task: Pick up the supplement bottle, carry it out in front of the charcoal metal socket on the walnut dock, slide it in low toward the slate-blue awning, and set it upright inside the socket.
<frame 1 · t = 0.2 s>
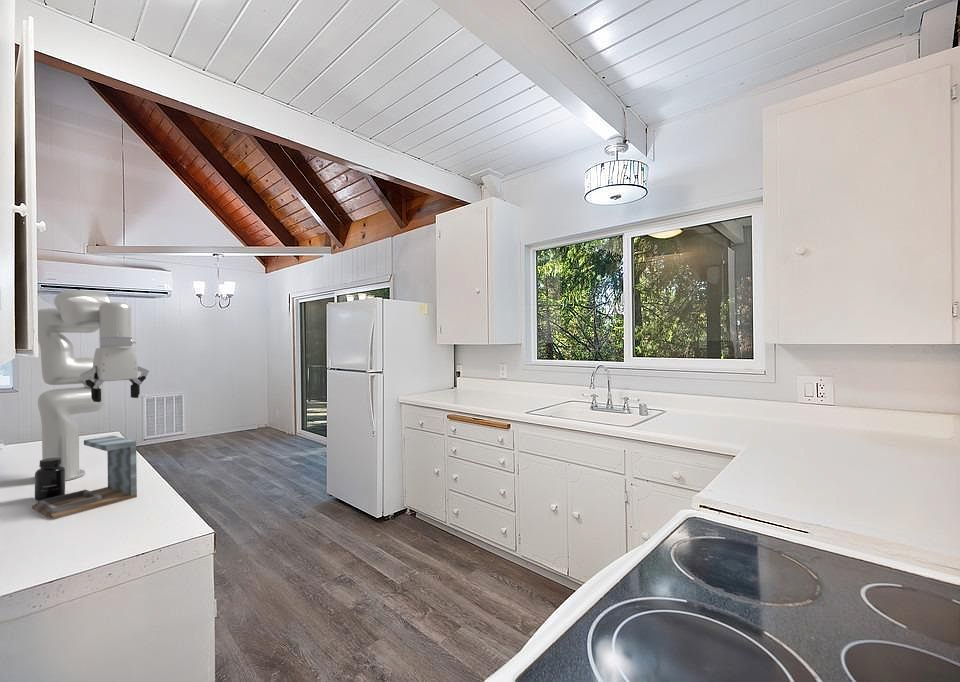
hand: (116, 399, 135), 31 cm above the countertop, tool pointing down, fingers open, 9 cm apart
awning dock: (101, 498, 137), on the countertop
supplement bottle: (50, 498, 138), on the countertop
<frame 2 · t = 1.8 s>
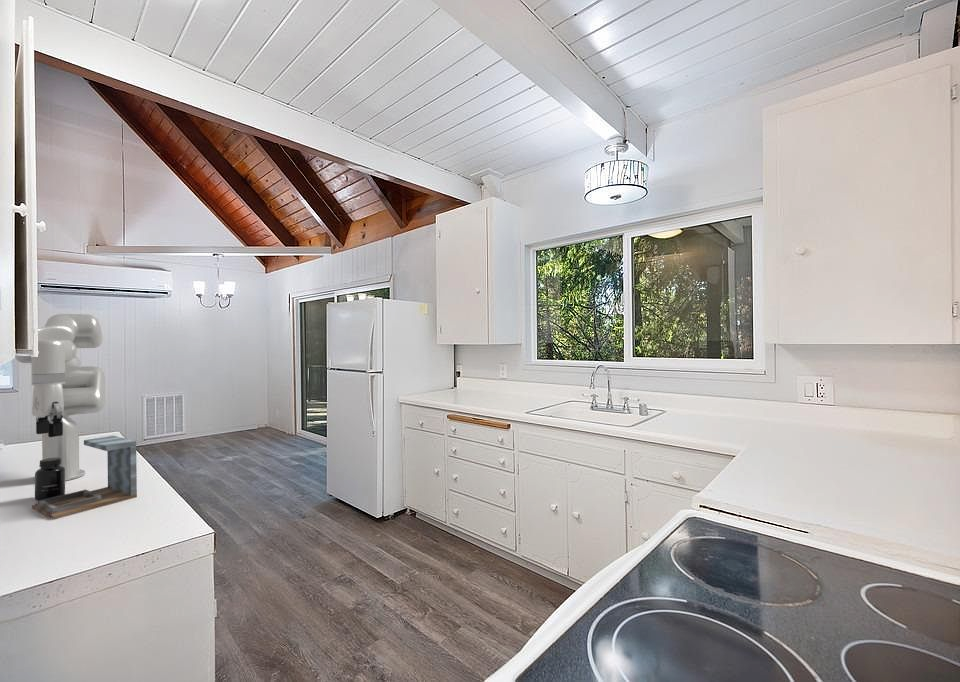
hand: (49, 434, 137), 20 cm above the countertop, tool pointing down, fingers open, 9 cm apart
nothing on the countertop moved.
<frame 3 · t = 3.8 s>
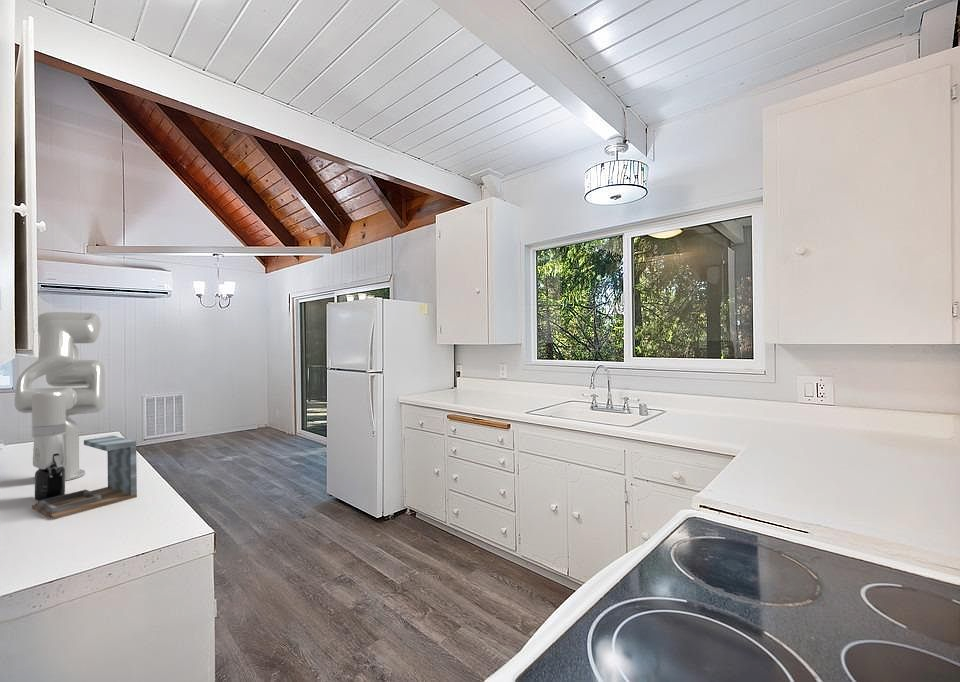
hand: (50, 487, 138), 3 cm above the countertop, tool pointing down, fingers closed on supplement bottle, 6 cm apart
supplement bottle: (50, 498, 138), on the countertop, touching gripper
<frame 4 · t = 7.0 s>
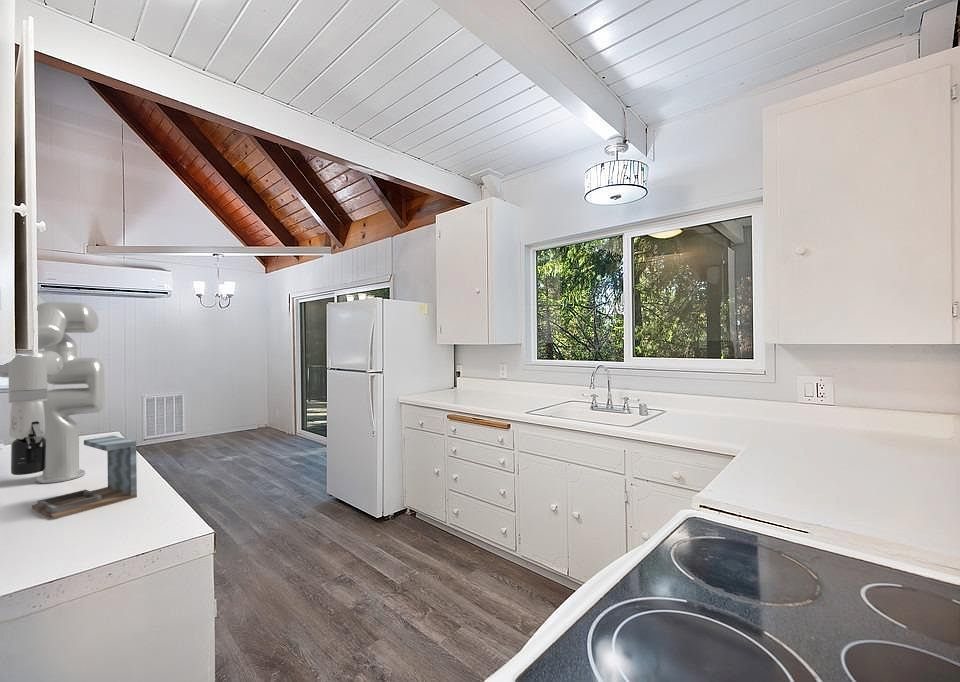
hand: (29, 460, 122), 16 cm above the countertop, tool pointing down, fingers closed on supplement bottle, 6 cm apart
supplement bottle: (29, 472, 122), point 12 cm above the countertop, touching gripper
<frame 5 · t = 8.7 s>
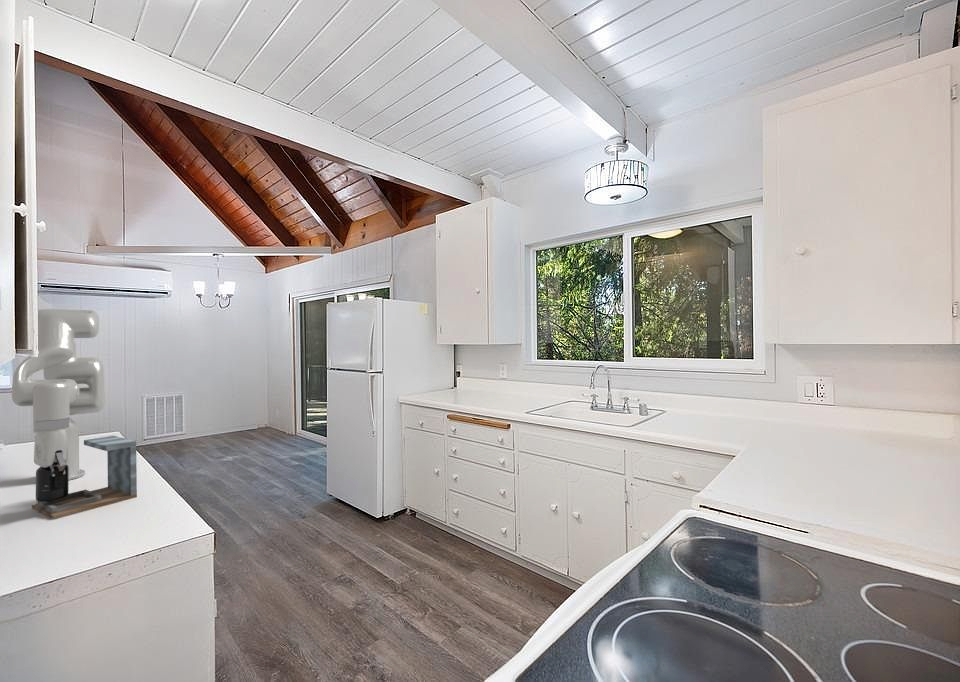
hand: (52, 486, 127), 7 cm above the countertop, tool pointing down, fingers closed on supplement bottle, 6 cm apart
supplement bottle: (52, 498, 127), point 4 cm above the countertop, touching gripper
when the fingers open (5 cm above the countertop, at t = 10.4 s): supplement bottle stays where it is, resting on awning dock.
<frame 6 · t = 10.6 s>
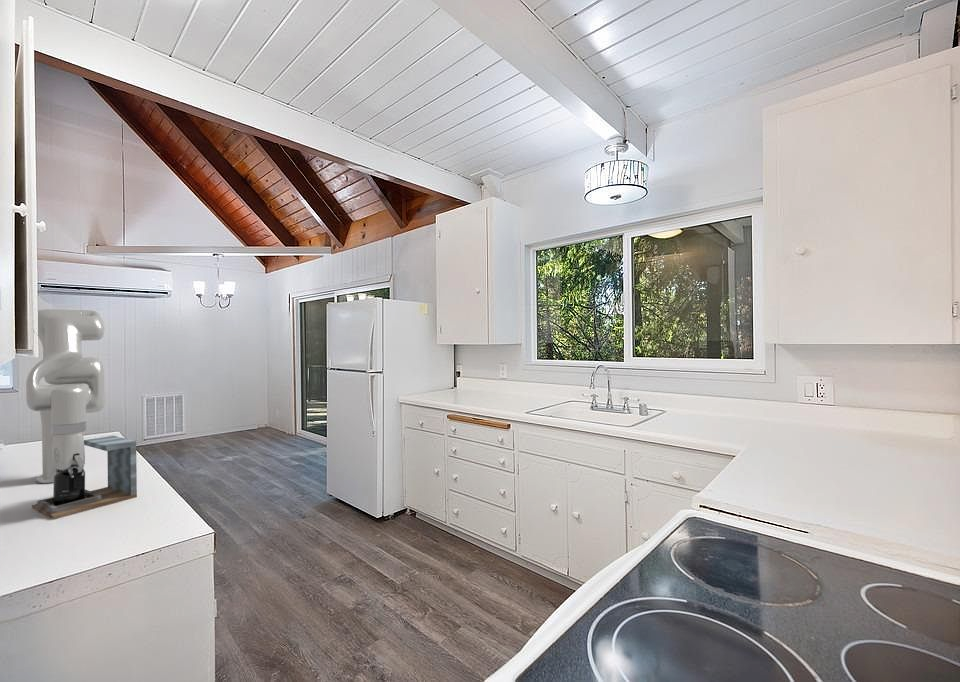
hand: (69, 487, 130), 6 cm above the countertop, tool pointing down, fingers open, 8 cm apart
supplement bottle: (69, 503, 130), point 1 cm above the countertop, touching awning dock
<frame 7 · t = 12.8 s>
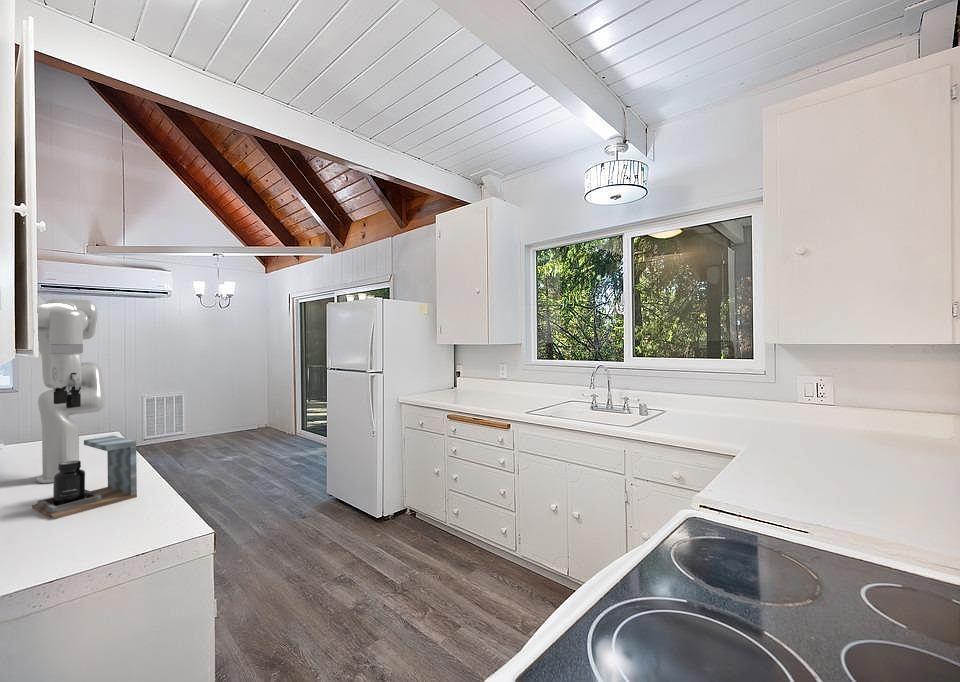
hand: (67, 405, 137), 29 cm above the countertop, tool pointing down, fingers open, 9 cm apart
nothing on the countertop moved.
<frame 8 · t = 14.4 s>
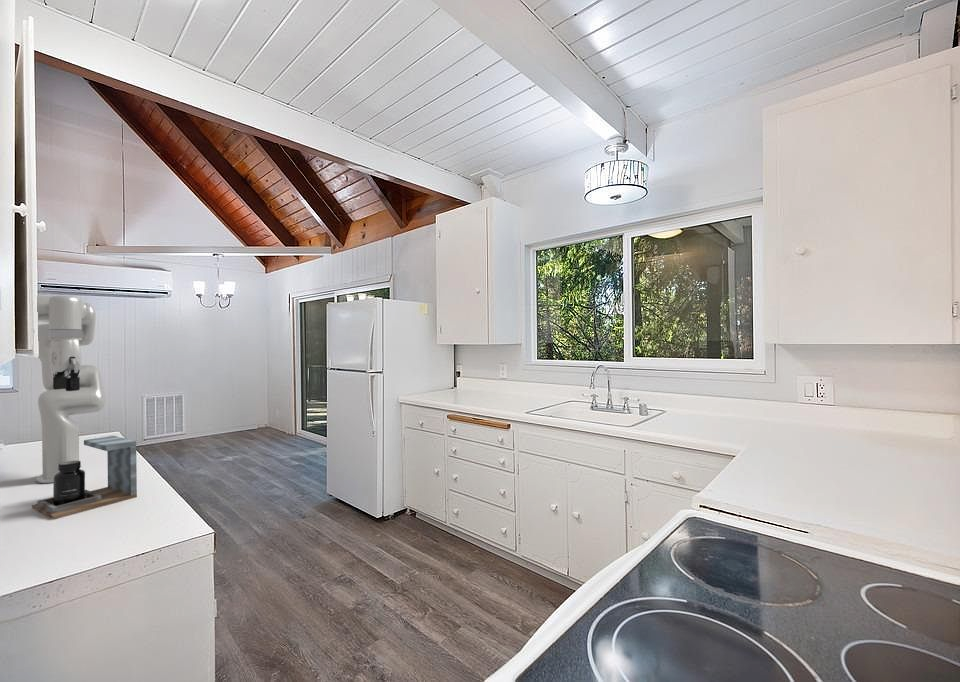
hand: (66, 389, 139), 33 cm above the countertop, tool pointing down, fingers open, 9 cm apart
nothing on the countertop moved.
at the end: supplement bottle 0.3 cm from the target spot, point 0.8 cm above the countertop; supplement bottle tilted 0°; the gripper is holding nothing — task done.
